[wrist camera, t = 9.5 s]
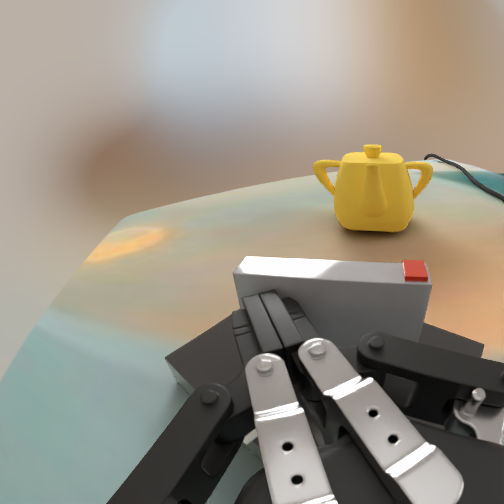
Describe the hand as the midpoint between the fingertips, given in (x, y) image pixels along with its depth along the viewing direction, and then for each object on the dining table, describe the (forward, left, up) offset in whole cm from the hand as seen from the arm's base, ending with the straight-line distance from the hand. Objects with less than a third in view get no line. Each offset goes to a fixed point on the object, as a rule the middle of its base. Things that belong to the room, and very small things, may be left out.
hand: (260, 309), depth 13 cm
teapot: (-27, +5, -7) cm, 29 cm away
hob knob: (-1, +3, -4) cm, 5 cm away
